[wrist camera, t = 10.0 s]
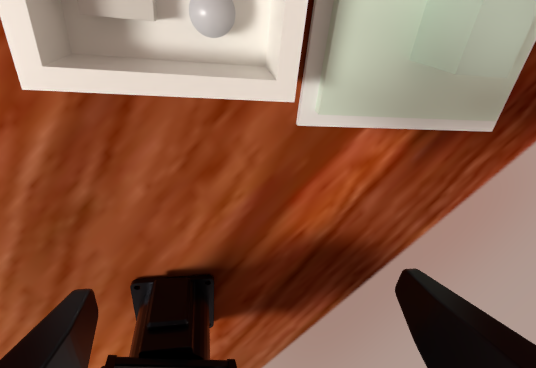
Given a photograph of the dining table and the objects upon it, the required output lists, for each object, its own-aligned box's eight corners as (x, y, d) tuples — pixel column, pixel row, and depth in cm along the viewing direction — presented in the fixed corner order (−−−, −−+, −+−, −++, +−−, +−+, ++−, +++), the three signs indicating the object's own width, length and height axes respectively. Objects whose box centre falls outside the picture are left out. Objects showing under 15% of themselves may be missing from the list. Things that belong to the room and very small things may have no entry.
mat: (487, 129, 23) (491, 131, 23) (296, 123, 21) (297, 125, 20) (618, -148, 16) (627, -151, 16) (346, -221, 13) (350, -227, 13)
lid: (486, 117, 22) (548, 144, 18) (314, 110, 20) (343, 139, 16) (599, -129, 16) (735, -172, 12) (365, -187, 13) (436, -266, 9)
